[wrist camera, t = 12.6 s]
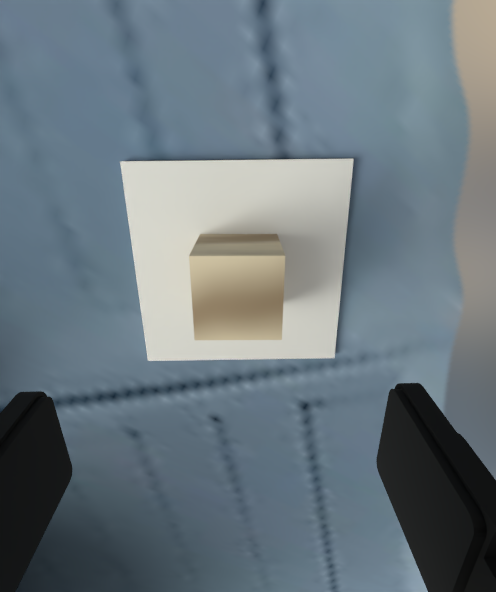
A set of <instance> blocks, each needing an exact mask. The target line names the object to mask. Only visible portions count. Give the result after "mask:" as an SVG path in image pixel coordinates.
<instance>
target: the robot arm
mask: <svg viewBox="0 0 496 592" xmlns="http://www.w3.org/2000/svg"><path fill="white" fill-rule="evenodd" d="M377 468H378V472H379V475H380V477H381V479H382V482H383V484H384V487H385V489H386V491H387V494H388V496H389V499H390V501H391V503H392V506H393V508H394V511H395V513H396V515H397V518H398V520H399V523H400V525H401V527H402V530H403V532H404V535H405V537H406V540H407V542H408V544H409V547H410V549H411V552H412V554H413V556H414V559H415V561H416V564H417V566H418V568H419V571H420V573H421V576H422V578H423V580H424V583H425V585H426V588H427V590H428V592H496V480H495V479H494V477H493V476H492V475H491V473H490V472H489V471H488V469H487V468H486V467H485V465H484V464H483V463H482V461H481V460H480V459H479V458H478V456H477V455H476V454H475V452H474V451H473V449H472V448H471V447H470V446H469V444H468V443H467V441H466V440H465V439H464V438H463V437H462V436H461V435H460V434H458V433H457V432H456V431H455V430H454V428H453V427H452V425H451V424H450V423H449V421H448V420H447V419H446V417H445V416H444V415H443V413H442V412H441V410H440V409H439V408H438V406H437V405H436V404H435V402H434V401H433V400H432V398H431V397H430V396H429V394H428V393H427V391H426V390H425V389H424V387H423V386H422V385H421V384H419V383H401V384H397V385H396V387H395V389H391V390H390V392H389V396H388V401H387V407H386V412H385V417H384V423H383V428H382V433H381V439H380V444H379V449H378V455H377ZM71 476H72V464H71V461H70V458H69V454H68V451H67V447H66V444H65V441H64V437H63V434H62V430H61V427H60V423H59V420H58V417H57V413H56V410H55V406H54V403H53V400H52V398H51V397H47V395H46V394H45V393H44V392H20V393H18V394H17V395H16V396H15V397H14V398H13V399H12V400H11V402H10V403H9V404H8V405H7V406H6V407H5V408H4V410H3V411H2V412H1V413H0V592H15V591H16V589H17V587H18V585H19V583H20V581H21V579H22V577H23V575H24V573H25V571H26V569H27V567H28V565H29V563H30V561H31V559H32V557H33V555H34V553H35V551H36V549H37V547H38V545H39V543H40V541H41V539H42V537H43V535H44V532H45V530H46V528H47V526H48V524H49V522H50V520H51V518H52V516H53V514H54V512H55V510H56V508H57V506H58V504H59V502H60V500H61V498H62V496H63V494H64V492H65V490H66V488H67V486H68V484H69V482H70V479H71Z"/></svg>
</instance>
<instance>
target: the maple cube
mask: <svg viewBox="0 0 496 592" xmlns="http://www.w3.org/2000/svg"><path fill="white" fill-rule="evenodd" d="M189 264H190V279H191V294H192V309H193V324H194V340H282V324H283V300H284V276H285V253H284V251H283V248H282V245H281V243H280V240H279V237H278V235H277V234H200V235H199V237H198V239H197V241H196V243H195V245H194V247H193V249H192V251H191V253H190V255H189Z"/></svg>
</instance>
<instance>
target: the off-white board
mask: <svg viewBox="0 0 496 592" xmlns="http://www.w3.org/2000/svg"><path fill="white" fill-rule="evenodd" d="M353 160H354V159H351V158H349V159H267V160H184V161H121V162H120V164H121V171H122V178H123V185H124V192H125V200H126V207H127V214H128V221H129V228H130V235H131V242H132V250H133V257H134V264H135V271H136V278H137V285H138V292H139V300H140V307H141V314H142V321H143V328H144V335H145V343H146V350H147V357H148V361H173V360H241V359H309V358H334V357H335V347H336V337H337V326H338V316H339V305H340V295H341V285H342V274H343V264H344V254H345V243H346V233H347V223H348V212H349V202H350V191H351V181H352V171H353ZM200 234H277V235H278V237H279V240H280V243H281V245H282V248H283V251H284V253H285V276H284V300H283V324H282V340H194V324H193V309H192V294H191V279H190V264H189V255H190V253H191V251H192V249H193V247H194V245H195V243H196V241H197V239H198V237H199V235H200Z"/></svg>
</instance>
